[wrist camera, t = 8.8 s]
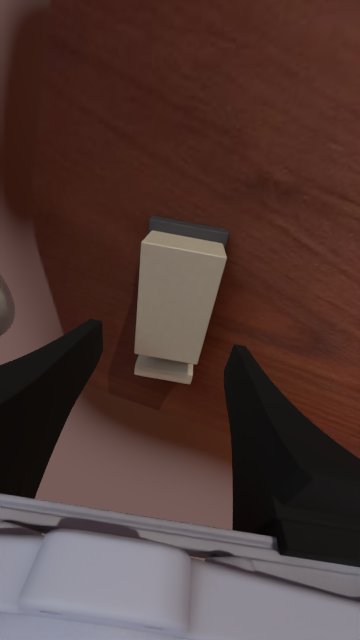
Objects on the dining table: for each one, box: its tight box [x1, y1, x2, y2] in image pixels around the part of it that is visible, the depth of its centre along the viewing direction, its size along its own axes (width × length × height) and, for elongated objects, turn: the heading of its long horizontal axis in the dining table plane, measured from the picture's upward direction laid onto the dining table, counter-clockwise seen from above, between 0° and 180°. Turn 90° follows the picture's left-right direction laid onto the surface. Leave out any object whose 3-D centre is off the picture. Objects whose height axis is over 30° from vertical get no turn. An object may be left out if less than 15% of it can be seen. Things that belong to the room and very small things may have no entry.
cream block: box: [134, 216, 229, 384], centre depth 16 cm, size 11×5×4 cm, turn 171°
